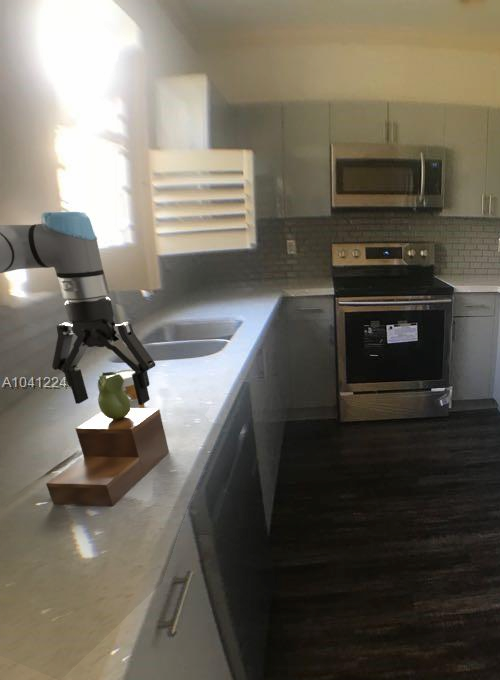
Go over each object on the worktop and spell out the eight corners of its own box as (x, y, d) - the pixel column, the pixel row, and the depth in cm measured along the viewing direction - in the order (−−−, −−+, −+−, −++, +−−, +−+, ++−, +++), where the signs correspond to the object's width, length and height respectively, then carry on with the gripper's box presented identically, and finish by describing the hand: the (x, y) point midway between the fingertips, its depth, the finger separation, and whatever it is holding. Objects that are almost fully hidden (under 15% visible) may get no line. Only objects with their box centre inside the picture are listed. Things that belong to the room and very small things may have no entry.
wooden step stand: (53, 504, 86) (35, 453, 82) (119, 451, 105) (107, 408, 101) (112, 506, 85) (97, 454, 81) (169, 452, 104) (159, 408, 100)
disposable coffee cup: (122, 410, 127) (111, 369, 123) (157, 408, 128) (148, 367, 124) (105, 425, 119) (93, 381, 114) (143, 422, 119) (132, 379, 115)
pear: (120, 411, 99) (109, 367, 95) (139, 413, 97) (128, 369, 94) (98, 422, 94) (84, 376, 90) (117, 425, 92) (104, 378, 89)
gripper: (9, 302, 84) (42, 407, 92) (137, 302, 82) (160, 410, 90) (41, 295, 91) (69, 393, 99) (160, 294, 89) (180, 395, 97)
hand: (113, 401), depth 94 cm, fingers open, 13 cm apart
